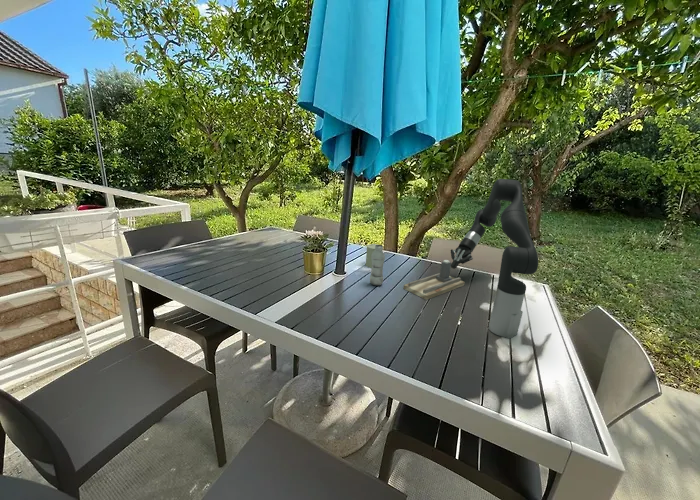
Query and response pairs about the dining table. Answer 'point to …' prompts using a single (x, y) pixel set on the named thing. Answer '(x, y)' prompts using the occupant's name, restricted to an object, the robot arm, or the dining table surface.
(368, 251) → the can
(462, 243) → the robot arm
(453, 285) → the wooden tray
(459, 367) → the dining table surface
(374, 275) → the plastic bottle
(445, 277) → the fader tab
